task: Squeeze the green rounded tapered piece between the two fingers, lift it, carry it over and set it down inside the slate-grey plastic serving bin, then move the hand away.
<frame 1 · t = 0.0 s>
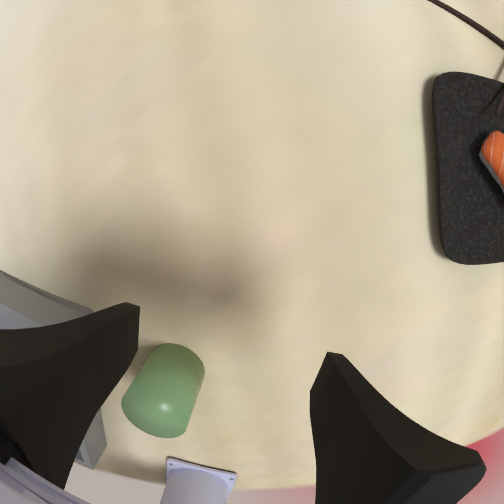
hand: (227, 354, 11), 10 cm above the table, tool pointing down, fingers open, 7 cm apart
serving bin: (40, 364, 25), on the table
green rounded tapered piece: (176, 367, 23), on the table
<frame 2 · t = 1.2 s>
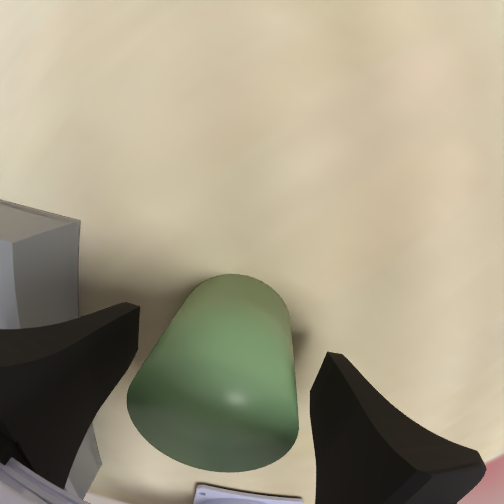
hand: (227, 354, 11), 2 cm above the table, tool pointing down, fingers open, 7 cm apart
serving bin: (0, 337, 15), on the table
green rounded tapered piece: (235, 326, 13), on the table
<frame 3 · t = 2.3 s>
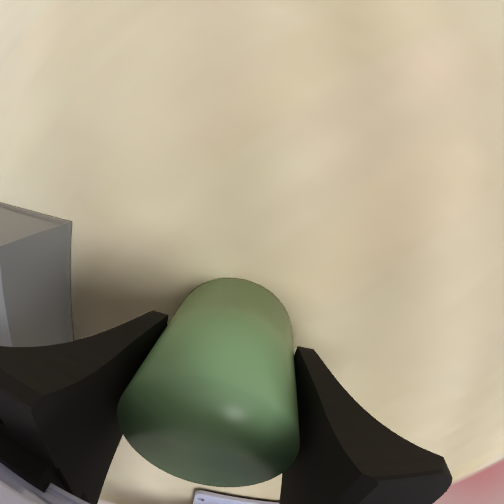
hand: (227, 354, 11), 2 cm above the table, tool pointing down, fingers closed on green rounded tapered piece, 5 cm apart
green rounded tapered piece: (233, 332, 12), on the table, touching gripper
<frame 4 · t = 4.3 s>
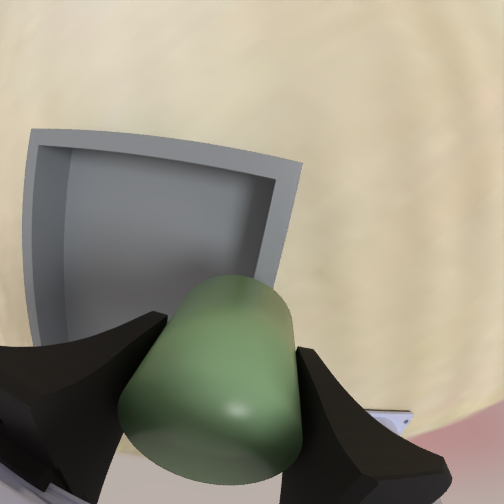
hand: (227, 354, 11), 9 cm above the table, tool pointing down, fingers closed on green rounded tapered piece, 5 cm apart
serving bin: (147, 288, 20), on the table
green rounded tapered piece: (234, 329, 12), point 7 cm above the table, touching gripper
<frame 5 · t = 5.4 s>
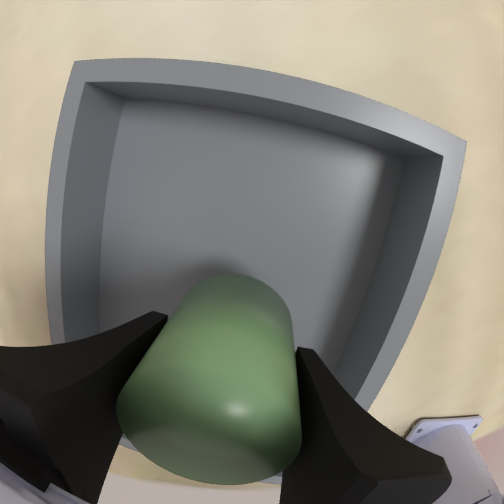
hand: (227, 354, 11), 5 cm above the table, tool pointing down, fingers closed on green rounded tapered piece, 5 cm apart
serving bin: (224, 293, 16), on the table
green rounded tapered piece: (233, 328, 12), point 4 cm above the table, touching gripper
when the fingers open (5 cm above the table, at t = 6.4 s): green rounded tapered piece drops 2 cm, resting on serving bin.
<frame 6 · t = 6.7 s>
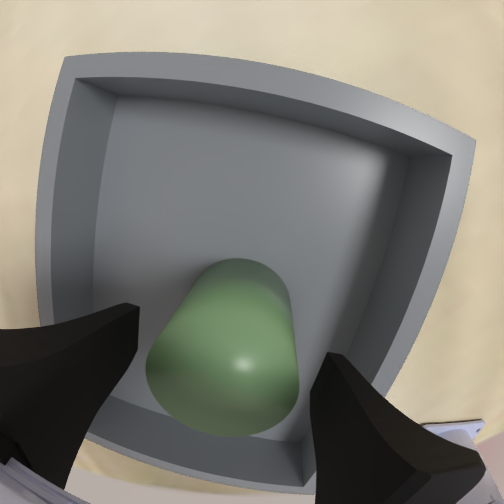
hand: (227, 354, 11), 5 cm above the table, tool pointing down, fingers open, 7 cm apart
serving bin: (221, 298, 15), on the table
green rounded tapered piece: (240, 306, 14), point 1 cm above the table, touching serving bin
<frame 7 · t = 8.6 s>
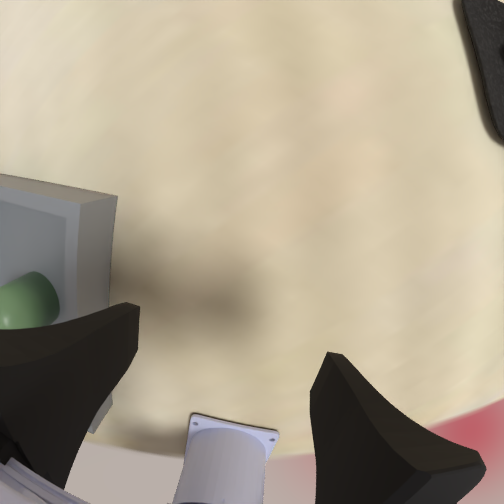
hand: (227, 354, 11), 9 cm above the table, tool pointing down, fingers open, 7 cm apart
serving bin: (38, 292, 22), on the table
green rounded tapered piece: (40, 297, 21), point 1 cm above the table, touching serving bin
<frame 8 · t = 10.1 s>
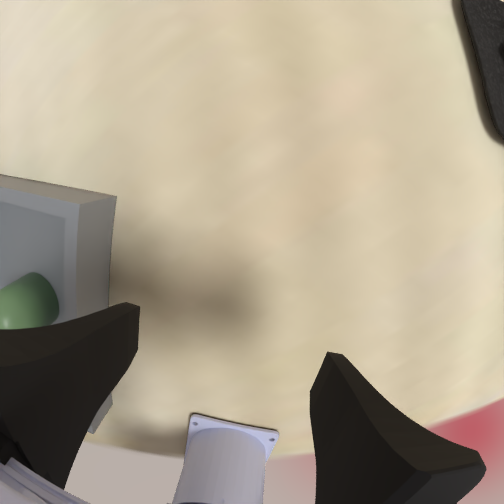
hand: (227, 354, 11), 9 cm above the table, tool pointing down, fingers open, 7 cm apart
serving bin: (37, 293, 22), on the table
green rounded tapered piece: (39, 298, 21), point 1 cm above the table, touching serving bin
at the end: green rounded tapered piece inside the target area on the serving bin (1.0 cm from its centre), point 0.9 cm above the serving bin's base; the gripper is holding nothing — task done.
